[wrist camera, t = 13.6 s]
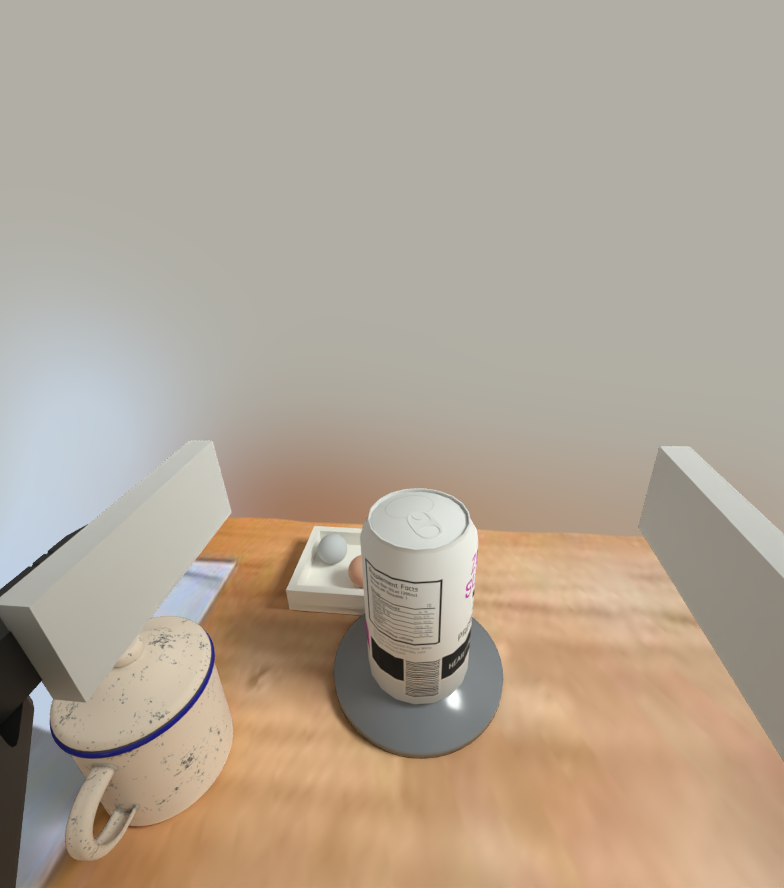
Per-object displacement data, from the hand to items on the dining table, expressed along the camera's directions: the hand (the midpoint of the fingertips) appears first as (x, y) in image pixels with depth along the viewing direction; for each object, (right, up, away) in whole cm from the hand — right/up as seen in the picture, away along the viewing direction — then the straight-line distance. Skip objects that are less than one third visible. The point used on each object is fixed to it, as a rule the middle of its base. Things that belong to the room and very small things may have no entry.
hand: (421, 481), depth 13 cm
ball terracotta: (-4, -12, +30) cm, 33 cm away
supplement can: (+1, -17, +23) cm, 29 cm away
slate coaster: (+1, -18, +23) cm, 29 cm away
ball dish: (-6, -13, +33) cm, 36 cm away
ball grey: (-7, -10, +34) cm, 36 cm away
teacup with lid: (-17, -22, +16) cm, 32 cm away
